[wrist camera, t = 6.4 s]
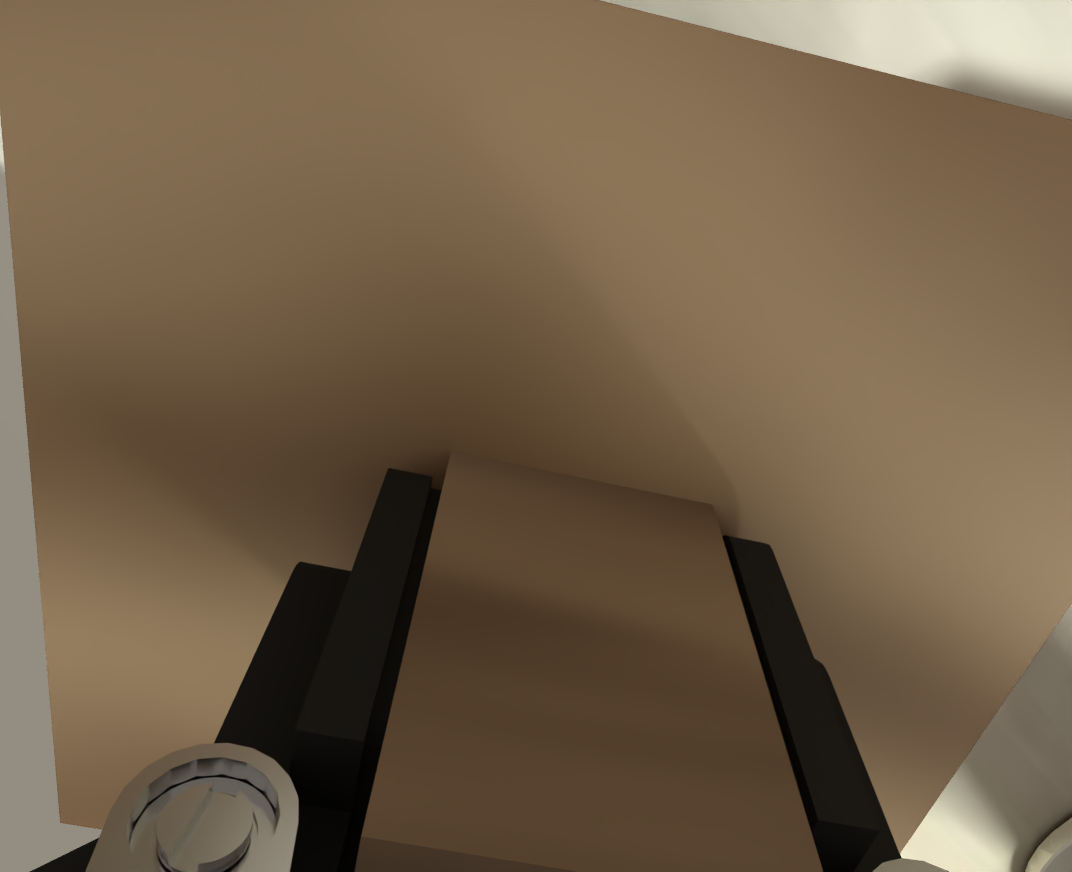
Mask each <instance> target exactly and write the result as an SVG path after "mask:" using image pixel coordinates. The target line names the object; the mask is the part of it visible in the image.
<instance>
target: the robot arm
mask: <svg viewBox="0 0 1072 872" xmlns="http://www.w3.org/2000/svg"><path fill="white" fill-rule="evenodd" d="M432 479H433V476H428V475H423V474H418V473H413V472H408V471H403V470H398V469H393V468H388V470H387V472H386V475H385V478H384V481H383V484H382V486H381V489H380V492H379V495H378V498H377V500H376V503H375V506H374V509H373V512H372V514H371V517H370V520H369V523H368V526H367V528H366V531H365V534H364V537H363V540H362V542H361V545H360V548H359V551H358V554H357V556H356V559H355V562H354V565H353V568H352V570H351V571H348V570H343V569H338V568H332V567H327V566H322V565H317V564H311V563H306V562H301V561H300V562H299V563H298V564H297V565H296V566H295V568H294V570H293V572H292V574H291V576H290V578H289V580H288V582H287V584H286V587H285V589H284V591H283V593H282V595H281V598H280V600H279V602H278V604H277V606H276V608H275V611H274V613H273V615H272V617H271V619H270V622H269V624H268V626H267V628H266V630H265V632H264V635H263V637H262V639H261V641H260V643H259V646H258V648H257V650H256V652H255V654H254V656H253V659H252V661H251V663H250V665H249V667H248V670H247V672H246V674H245V676H244V678H243V680H242V683H241V685H240V687H239V689H238V691H237V694H236V696H235V698H234V700H233V702H232V704H231V707H230V709H229V711H228V713H227V715H226V718H225V720H224V722H223V724H222V726H221V728H220V731H219V733H218V735H217V737H216V739H215V742H214V744H198V745H195V746H192V747H188V748H185V749H181V750H178V751H174V752H171V753H169V754H168V755H166V756H164V757H162V758H160V759H159V760H157V761H155V762H153V763H151V764H150V765H148V766H146V767H145V768H144V769H143V770H142V771H141V772H140V773H139V774H137V775H136V776H135V777H134V778H133V779H132V780H131V781H130V782H129V783H128V784H127V785H126V786H125V787H124V788H123V790H122V792H121V793H120V795H119V797H118V798H117V800H116V802H115V803H114V805H113V807H112V808H111V810H110V812H109V814H108V817H107V819H106V822H105V824H104V827H103V829H102V832H101V835H100V837H99V838H97V839H95V840H93V841H91V842H89V843H87V844H85V845H83V846H81V847H79V848H77V849H75V850H73V851H71V852H69V853H67V854H65V855H63V856H61V857H59V858H57V859H55V860H53V861H51V862H49V863H47V864H45V865H43V866H41V867H39V868H37V869H35V870H32V871H30V872H355V867H356V861H357V856H358V851H359V845H360V840H361V835H362V831H363V826H364V822H365V818H366V814H367V809H368V805H369V801H370V796H371V792H372V788H373V784H374V779H375V775H376V771H377V766H378V762H379V758H380V753H381V749H382V745H383V741H384V736H385V732H386V728H387V723H388V719H389V715H390V711H391V706H392V702H393V698H394V693H395V689H396V685H397V681H398V676H399V672H400V668H401V663H402V659H403V655H404V651H405V646H406V642H407V638H408V633H409V629H410V625H411V621H412V616H413V612H414V608H415V603H416V599H417V595H418V591H419V586H420V582H421V578H422V573H423V569H424V565H425V561H426V556H427V552H428V548H429V543H430V539H431V535H432V531H433V526H434V522H435V518H436V513H437V509H438V505H439V501H440V496H441V492H442V490H438V489H433V488H431V485H432ZM722 538H723V541H724V544H725V548H726V551H727V554H728V558H729V561H730V564H731V568H732V571H733V574H734V577H735V581H736V584H737V587H738V591H739V594H740V597H741V601H742V604H743V607H744V611H745V614H746V617H747V621H748V624H749V627H750V631H751V634H752V637H753V640H754V644H755V647H756V650H757V654H758V657H759V660H760V664H761V667H762V670H763V674H764V677H765V680H766V684H767V687H768V690H769V694H770V697H771V700H772V704H773V707H774V710H775V713H776V717H777V720H778V723H779V727H780V730H781V733H782V737H783V740H784V743H785V747H786V750H787V753H788V757H789V760H790V763H791V767H792V770H793V773H794V776H795V780H796V783H797V786H798V790H799V793H800V796H801V800H802V803H803V806H804V810H805V813H806V816H807V820H808V823H809V826H810V830H811V833H812V836H813V840H814V843H815V846H816V849H817V853H818V856H819V859H820V863H821V866H822V869H823V872H949V871H947V870H944V869H942V868H939V867H937V866H934V865H932V864H929V863H927V862H924V861H918V860H911V859H903V858H901V856H900V853H899V851H898V848H897V846H896V843H895V841H894V838H893V835H892V833H891V830H890V828H889V825H888V823H887V820H886V818H885V815H884V813H883V810H882V808H881V805H880V803H879V800H878V798H877V795H876V793H875V790H874V787H873V785H872V782H871V780H870V777H869V775H868V772H867V770H866V767H865V765H864V762H863V760H862V757H861V755H860V752H859V750H858V747H857V744H856V742H855V739H854V737H853V734H852V732H851V729H850V727H849V724H848V722H847V719H846V717H845V714H844V712H843V709H842V707H841V704H840V702H839V699H838V696H837V694H836V691H835V689H834V686H833V684H832V681H831V679H830V676H829V674H828V672H827V670H826V669H825V667H824V665H823V664H822V663H821V662H819V661H818V660H816V659H814V656H813V654H812V651H811V648H810V646H809V643H808V641H807V638H806V635H805V633H804V630H803V628H802V625H801V622H800V620H799V617H798V615H797V612H796V609H795V607H794V604H793V601H792V599H791V596H790V594H789V591H788V588H787V586H786V583H785V581H784V578H783V575H782V573H781V570H780V568H779V565H778V562H777V560H776V557H775V555H774V552H773V550H772V548H771V546H770V545H769V544H766V543H762V542H757V541H752V540H747V539H742V538H737V537H732V536H727V535H724V536H722ZM1025 872H1072V818H1070V819H1069V820H1067V821H1066V822H1065V823H1063V824H1062V825H1061V826H1059V827H1058V828H1057V829H1055V830H1054V831H1053V832H1052V833H1051V834H1050V835H1049V836H1048V837H1047V838H1046V839H1045V840H1044V841H1043V842H1042V843H1041V844H1040V845H1039V846H1038V848H1037V849H1036V851H1035V852H1034V854H1033V856H1032V857H1031V859H1030V860H1029V862H1028V865H1027V868H1026V871H1025Z"/></svg>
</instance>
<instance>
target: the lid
mask: <svg viewBox="0 0 1072 872" xmlns="http://www.w3.org/2000/svg"><path fill="white" fill-rule="evenodd" d="M0 115H1V127H2V139H3V151H4V163H5V174H6V186H7V198H8V210H9V222H10V234H11V245H12V257H13V269H14V281H15V292H16V304H17V317H18V327H19V340H20V352H21V363H22V376H23V388H24V399H25V411H26V423H27V435H28V446H29V458H30V470H31V482H32V494H33V505H34V518H35V529H36V542H37V554H38V565H39V577H40V589H41V601H42V613H43V624H44V636H45V647H46V660H47V671H48V684H49V695H50V707H51V719H52V731H53V743H54V755H55V766H56V777H57V789H58V802H59V814H60V823H65V824H71V825H77V826H84V827H91V828H97V829H103V827H104V824H105V822H106V819H107V817H108V814H109V812H110V810H111V808H112V807H113V805H114V803H115V802H116V800H117V798H118V797H119V795H120V793H121V792H122V790H123V788H124V787H125V786H126V785H127V784H128V783H129V782H130V781H131V780H132V779H133V778H134V777H135V776H136V775H137V774H139V773H140V772H141V771H142V770H143V769H144V768H145V767H146V766H148V765H150V764H151V763H153V762H155V761H157V760H159V759H160V758H162V757H164V756H166V755H168V754H169V753H171V752H174V751H178V750H181V749H185V748H188V747H192V746H195V745H198V744H214V742H215V739H216V737H217V735H218V733H219V731H220V728H221V726H222V724H223V722H224V720H225V718H226V715H227V713H228V711H229V709H230V707H231V704H232V702H233V700H234V698H235V696H236V694H237V691H238V689H239V687H240V685H241V683H242V680H243V678H244V676H245V674H246V672H247V670H248V667H249V665H250V663H251V661H252V659H253V656H254V654H255V652H256V650H257V648H258V646H259V643H260V641H261V639H262V637H263V635H264V632H265V630H266V628H267V626H268V624H269V622H270V619H271V617H272V615H273V613H274V611H275V608H276V606H277V604H278V602H279V600H280V598H281V595H282V593H283V591H284V589H285V587H286V584H287V582H288V580H289V578H290V576H291V574H292V572H293V570H294V568H295V566H296V565H297V564H298V563H299V562H300V561H301V562H306V563H311V564H317V565H322V566H327V567H332V568H338V569H343V570H348V571H351V570H352V568H353V565H354V562H355V559H356V556H357V554H358V551H359V548H360V545H361V542H362V540H363V537H364V534H365V531H366V528H367V526H368V523H369V520H370V517H371V514H372V512H373V509H374V506H375V503H376V500H377V498H378V495H379V492H380V489H381V486H382V484H383V481H384V478H385V475H386V472H387V470H388V468H393V469H398V470H403V471H408V472H413V473H418V474H423V475H428V476H433V479H432V485H431V488H433V489H438V490H442V492H441V496H440V501H439V505H438V509H437V513H436V518H435V522H434V526H433V531H432V535H431V539H430V543H429V548H428V552H427V556H426V561H425V565H424V569H423V573H422V578H421V582H420V586H419V591H418V595H417V599H416V603H415V608H414V612H413V616H412V621H411V625H410V629H409V633H408V638H407V642H406V646H405V651H404V655H403V659H402V663H401V668H400V672H399V676H398V681H397V685H396V689H395V693H394V698H393V702H392V706H391V711H390V715H389V719H388V723H387V728H386V732H385V736H384V741H383V745H382V749H381V753H380V758H379V762H378V766H377V771H376V775H375V779H374V784H373V788H372V792H371V796H370V801H369V805H368V809H367V814H366V818H365V822H364V826H363V831H362V835H361V840H360V845H359V851H358V856H357V861H356V867H355V872H823V869H822V866H821V863H820V859H819V856H818V853H817V849H816V846H815V843H814V840H813V836H812V833H811V830H810V826H809V823H808V820H807V816H806V813H805V810H804V806H803V803H802V800H801V796H800V793H799V790H798V786H797V783H796V780H795V776H794V773H793V770H792V767H791V763H790V760H789V757H788V753H787V750H786V747H785V743H784V740H783V737H782V733H781V730H780V727H779V723H778V720H777V717H776V713H775V710H774V707H773V704H772V700H771V697H770V694H769V690H768V687H767V684H766V680H765V677H764V674H763V670H762V667H761V664H760V660H759V657H758V654H757V650H756V647H755V644H754V640H753V637H752V634H751V631H750V627H749V624H748V621H747V617H746V614H745V611H744V607H743V604H742V601H741V597H740V594H739V591H738V587H737V584H736V581H735V577H734V574H733V571H732V568H731V564H730V561H729V558H728V554H727V551H726V548H725V544H724V541H723V538H722V536H724V535H727V536H732V537H737V538H742V539H747V540H752V541H757V542H762V543H766V544H769V545H770V546H771V548H772V550H773V552H774V555H775V557H776V560H777V562H778V565H779V568H780V570H781V573H782V575H783V578H784V581H785V583H786V586H787V588H788V591H789V594H790V596H791V599H792V601H793V604H794V607H795V609H796V612H797V615H798V617H799V620H800V622H801V625H802V628H803V630H804V633H805V635H806V638H807V641H808V643H809V646H810V648H811V651H812V654H813V656H814V659H816V660H818V661H819V662H821V663H822V664H823V665H824V667H825V669H826V670H827V672H828V674H829V676H830V679H831V681H832V684H833V686H834V689H835V691H836V694H837V696H838V699H839V702H840V704H841V707H842V709H843V712H844V714H845V717H846V719H847V722H848V724H849V727H850V729H851V732H852V734H853V737H854V739H855V742H856V744H857V747H858V750H859V752H860V755H861V757H862V760H863V762H864V765H865V767H866V770H867V772H868V775H869V777H870V780H871V782H872V785H873V787H874V790H875V793H876V795H877V798H878V800H879V803H880V805H881V808H882V810H883V813H884V815H885V818H886V820H887V823H888V825H889V828H890V830H891V833H892V835H893V838H894V841H895V843H896V846H897V848H898V851H899V853H901V851H902V850H903V848H904V847H905V845H906V844H907V842H908V841H909V839H910V838H911V837H912V835H913V834H914V832H915V831H916V829H917V828H918V826H919V825H920V823H921V822H922V821H923V819H924V818H925V816H926V815H927V813H928V812H929V810H930V809H931V807H932V806H933V804H934V803H935V802H936V800H937V799H938V797H939V796H940V794H941V793H942V791H943V790H944V788H945V787H946V786H947V784H948V783H949V781H950V780H951V778H952V777H953V775H954V774H955V772H956V771H957V769H958V768H959V767H960V765H961V764H962V762H963V761H964V759H965V758H966V756H967V755H968V753H969V752H970V750H971V749H972V748H973V746H974V745H975V743H976V742H977V740H978V739H979V737H980V736H981V734H982V733H983V732H984V730H985V729H986V727H987V726H988V724H989V723H990V721H991V720H992V718H993V717H994V715H995V714H996V713H997V711H998V710H999V708H1000V707H1001V705H1002V704H1003V702H1004V701H1005V699H1006V698H1007V697H1008V695H1009V694H1010V692H1011V691H1012V689H1013V688H1014V686H1015V685H1016V683H1017V682H1018V680H1019V679H1020V678H1021V676H1022V675H1023V673H1024V672H1025V670H1026V669H1027V667H1028V666H1029V664H1030V663H1031V661H1032V660H1033V659H1034V657H1035V656H1036V654H1037V653H1038V651H1039V650H1040V648H1041V647H1042V645H1043V644H1044V643H1045V641H1046V640H1047V638H1048V637H1049V635H1050V634H1051V632H1052V631H1053V629H1054V628H1055V626H1056V625H1057V624H1058V622H1059V621H1060V619H1061V618H1062V616H1063V615H1064V613H1065V612H1066V610H1067V609H1068V607H1069V606H1070V605H1071V603H1072V120H1069V119H1065V118H1061V117H1057V116H1053V115H1049V114H1045V113H1041V112H1037V111H1033V110H1030V109H1026V108H1022V107H1018V106H1014V105H1010V104H1006V103H1002V102H998V101H994V100H990V99H986V98H982V97H978V96H974V95H970V94H966V93H963V92H959V91H955V90H951V89H947V88H943V87H939V86H935V85H931V84H927V83H923V82H919V81H915V80H911V79H907V78H903V77H899V76H895V75H892V74H888V73H884V72H880V71H876V70H872V69H868V68H864V67H860V66H856V65H852V64H848V63H844V62H840V61H836V60H832V59H828V58H825V57H821V56H817V55H813V54H809V53H805V52H801V51H797V50H793V49H789V48H785V47H781V46H777V45H773V44H769V43H765V42H761V41H758V40H754V39H750V38H746V37H742V36H738V35H734V34H730V33H726V32H722V31H718V30H714V29H710V28H706V27H702V26H698V25H694V24H690V23H687V22H683V21H679V20H675V19H671V18H667V17H663V16H659V15H655V14H651V13H647V12H643V11H639V10H635V9H631V8H627V7H623V6H620V5H616V4H612V3H608V2H604V1H600V0H0Z"/></svg>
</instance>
